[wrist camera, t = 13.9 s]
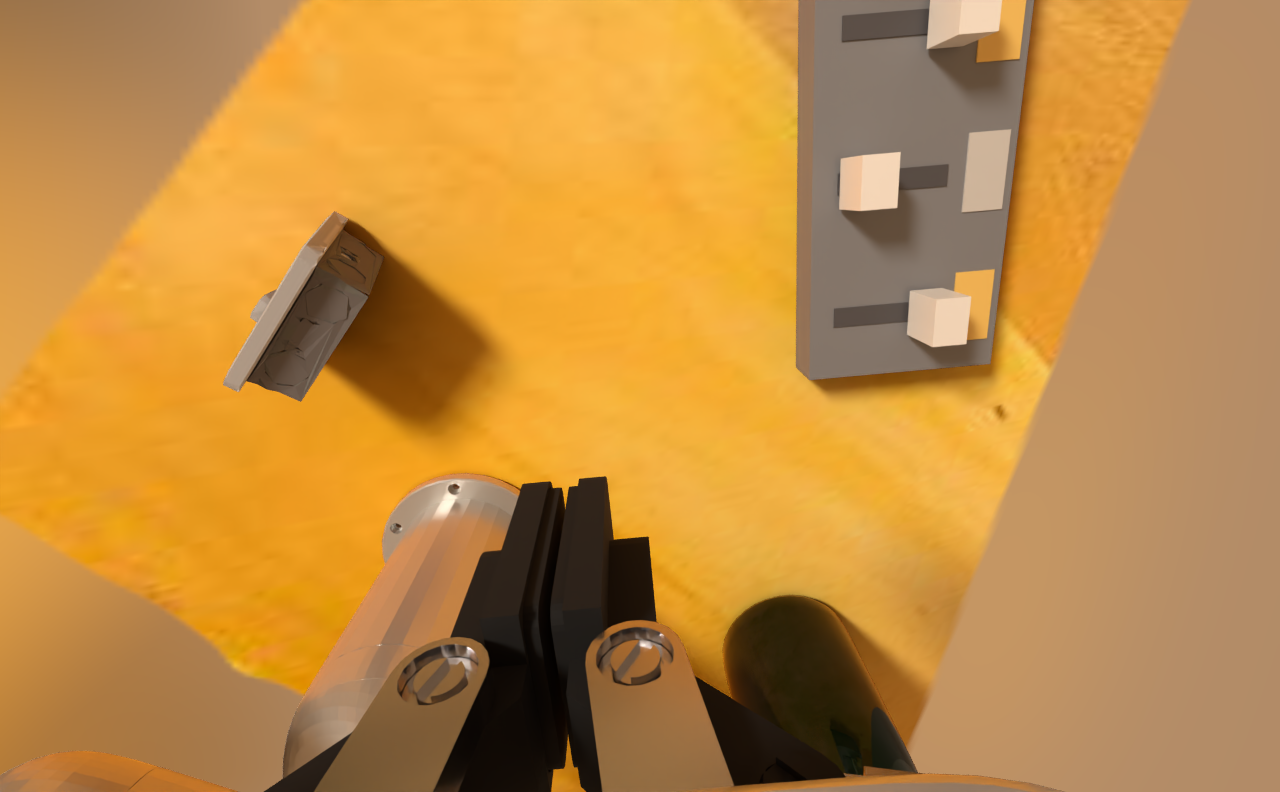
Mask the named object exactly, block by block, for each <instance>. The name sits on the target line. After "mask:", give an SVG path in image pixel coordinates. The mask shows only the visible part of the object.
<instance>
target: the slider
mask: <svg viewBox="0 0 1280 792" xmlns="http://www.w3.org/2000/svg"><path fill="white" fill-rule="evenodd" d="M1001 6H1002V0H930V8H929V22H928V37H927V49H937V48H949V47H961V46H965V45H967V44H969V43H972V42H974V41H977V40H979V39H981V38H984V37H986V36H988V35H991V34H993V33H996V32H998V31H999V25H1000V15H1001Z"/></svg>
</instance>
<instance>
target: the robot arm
mask: <svg viewBox="0 0 1280 792" xmlns="http://www.w3.org/2000/svg"><path fill="white" fill-rule="evenodd" d="M455 484H457V485H458V486H456V485H455ZM382 549H383V558H384V561H385V566H384V567H383V569H382V571H381V572H380V574H379V575H378V577H377V579H376V580H375V582H374V584H373V585H372V587H371V588H370V590H369V592H368V593H367V595H366V596H365V598H364V600H363V601H362V603H361V604H360V606H359V608H358V609H357V611H356V613H355V614H354V616H353V617H352V619H351V621H350V622H349V624H348V625H347V627H346V629H345V630H344V632H343V634H342V635H341V637H340V638H339V640H338V642H337V643H336V645H335V646H334V648H333V650H332V651H331V653H330V654H329V656H328V658H327V659H326V661H325V663H324V664H323V666H322V667H321V669H320V671H319V672H318V674H317V675H316V677H315V679H314V680H313V682H312V684H311V685H310V687H309V689H308V690H307V692H306V693H305V695H304V697H303V699H302V700H301V702H300V704H299V706H298V708H297V710H296V712H295V715H294V717H293V719H292V722H291V725H290V729H289V731H288V735H287V739H286V745H285V751H284V758H283V779H282V780H281V781H279V782H278V783H276V784H275V785H273V786H272V787H270V788H269V789H267V790H266V791H264V792H551V787H552V778H553V769H563V768H564V767H565V761H566V751H567V740H568V736H569V742H570V748H571V755H572V761H573V766H574V767H578V771H579V778H580V784H581V787H582V788H583V789H584V790H585V791H586V792H1064V791H1060V790H1056V789H1052V788H1048V787H1044V786H1040V785H1036V784H1032V783H1026V782H1019V781H1013V780H1006V779H998V778H991V777H984V776H974V775H972V776H971V775H949V774H922V773H915V772H907V771H899V770H891V769H882V768H874V767H866V766H864V774H863V776H862V775H854V774H846V773H843V772H842V771H841V770H840V768H839V767H838V766H837V765H836V764H834V763H833V762H832V761H831V760H829V759H828V758H827V757H826V756H824V755H823V754H822V753H820V752H818V751H817V750H815V749H814V748H812V747H810V746H809V745H807V744H805V743H804V742H802V741H800V740H799V739H797V738H795V737H794V736H792V735H791V734H789V733H787V732H786V731H784V730H782V729H781V728H779V727H777V726H776V725H774V724H773V723H771V722H769V721H768V720H766V719H764V718H763V717H761V716H759V715H758V714H756V713H754V712H753V711H751V710H750V709H748V708H746V707H745V706H743V705H741V704H740V703H738V702H736V701H735V700H733V699H732V698H730V697H728V696H727V695H725V694H723V693H722V692H720V691H718V690H717V689H715V688H713V687H712V686H710V685H709V684H707V683H705V682H704V681H702V680H700V679H699V678H697V677H695V676H694V673H693V671H692V668H691V665H690V662H689V659H688V657H687V654H686V651H685V648H684V646H683V644H682V642H681V640H680V639H679V637H678V635H677V634H676V633H674V632H673V631H672V630H671V629H669V628H668V627H667V626H664V625H662V624H659V623H657V622H656V611H655V600H654V590H653V579H652V569H651V558H650V547H649V537H638V538H628V539H617V540H614V538H613V529H612V520H611V511H610V502H609V493H608V484H607V478H606V476H605V477H594V478H583V479H579V483H578V486H573V487H569V490H568V497H567V503H566V509H565V504H564V497H563V491H562V488H553V487H552V483H551V482H539V483H528V484H523V485H522V487H521V490H520V491H519V490H518V489H517V488H515V487H513V486H511V485H509V484H507V483H505V482H503V481H501V480H498V479H495V478H492V477H488V476H485V475H477V474H469V473H465V474H450V475H445V476H441V477H437V478H434V479H431V480H429V481H427V482H424V483H422V484H420V485H419V486H417V487H416V488H414V489H413V490H411V491H410V492H409V493H408V494H407V495H406V496H405V497H404V498H403V499H402V500H401V501H400V502H399V503H398V505H397V506H396V508H395V509H394V511H393V512H392V513H391V515H390V517H389V519H388V521H387V523H386V525H385V529H384V534H383V539H382ZM0 792H238V791H235V790H232V789H229V788H226V787H223V786H219V785H216V784H213V783H210V782H207V781H204V780H201V779H197V778H194V777H191V776H188V775H185V774H182V773H179V772H175V771H172V770H169V769H166V768H163V767H158V766H155V765H152V764H148V763H145V762H142V761H138V760H135V759H131V758H127V757H122V756H118V755H114V754H110V753H104V752H96V751H68V752H58V753H54V754H50V755H46V756H43V757H39V758H35V759H33V760H31V761H28V762H26V763H24V764H22V765H19V766H17V767H15V768H13V769H10V770H8V771H7V772H5V773H3V774H2V775H0Z"/></svg>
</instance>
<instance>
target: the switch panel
mask: <svg viewBox="0 0 1280 792" xmlns="http://www.w3.org/2000/svg"><path fill="white" fill-rule="evenodd" d="M1033 6H1034V0H1002V6H1001V15H1000V25H999V31H998V32H996V33H993V34H991V35H988V36H986V37H984V38H981V39H979V40H977V41H974V42H972V43H969V44H967V45H965V46H961V47H949V48H937V49H927V37H928V22H929V8H930V0H799V30H798V169H797V309H796V368H797V369H798V370H799V371H801V372H802V373H803V374H804V375H805V376H806V377H807V378H808V379H809V380H815V379H827V378H838V377H849V376H860V375H871V374H883V373H894V372H905V371H916V370H927V369H939V368H950V367H961V366H972V365H983V364H990V362H991V354H992V346H993V337H994V329H995V321H996V312H997V304H998V296H999V288H1000V279H1001V271H1002V263H1003V254H1004V246H1005V238H1006V230H1007V221H1008V213H1009V205H1010V196H1011V188H1012V180H1013V172H1014V163H1015V155H1016V147H1017V138H1018V130H1019V122H1020V114H1021V105H1022V97H1023V89H1024V80H1025V72H1026V64H1027V56H1028V47H1029V39H1030V31H1031V22H1032V14H1033ZM895 152H901V154H900V171H899V187H898V204H897V208H890V209H878V210H867V211H853V210H840V209H839V199H840V165H841V158H848V157H854V156H861V155H871V154H883V153H895ZM935 288H944V289H947V290H951V291H954V292H958V293H961V294H965V295H968V296H971V305H970V314H969V324H968V333H967V343H966V344H962V345H951V346H940V347H931V346H929V345H927V344H925V343H923V342H921V341H919V340H917V339H915V338H913V337H911V336H909V335H907V326H908V312H909V298H910V291H912V290H923V289H935Z"/></svg>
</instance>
